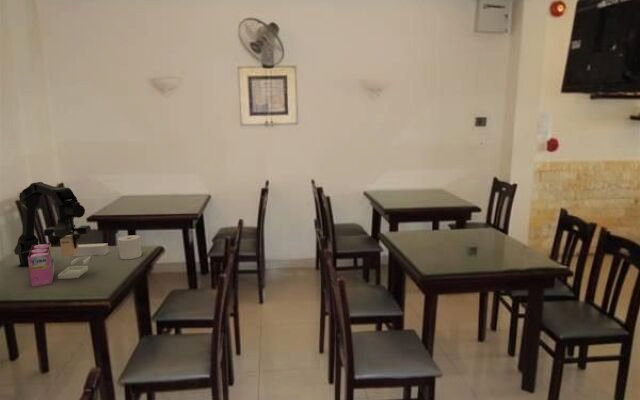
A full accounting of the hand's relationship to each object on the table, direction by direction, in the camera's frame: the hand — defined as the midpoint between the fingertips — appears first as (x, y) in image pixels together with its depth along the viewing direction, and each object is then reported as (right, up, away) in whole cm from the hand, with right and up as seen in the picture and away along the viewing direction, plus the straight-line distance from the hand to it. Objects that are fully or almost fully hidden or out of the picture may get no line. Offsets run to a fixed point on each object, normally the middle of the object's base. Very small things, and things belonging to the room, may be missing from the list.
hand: (70, 248), depth 213 cm
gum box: (-12, -14, 0) cm, 18 cm away
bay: (-6, -8, +25) cm, 27 cm away
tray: (0, -12, +2) cm, 13 cm away
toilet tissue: (+16, -7, +27) cm, 33 cm away
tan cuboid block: (0, -2, +1) cm, 3 cm away
